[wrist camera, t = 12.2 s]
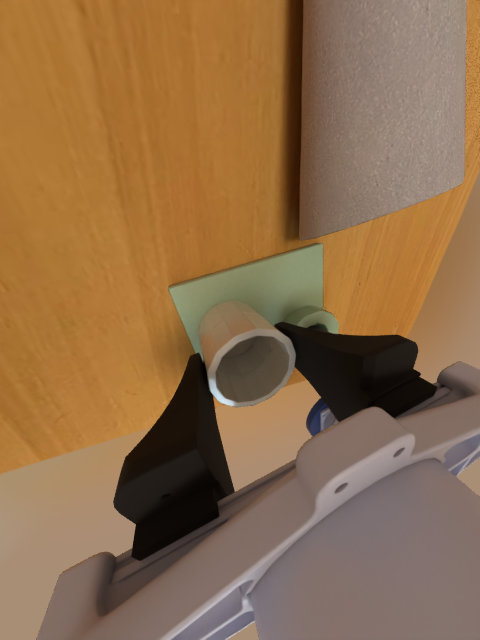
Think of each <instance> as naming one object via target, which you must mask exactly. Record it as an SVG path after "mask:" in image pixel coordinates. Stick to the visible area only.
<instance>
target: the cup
mask: <svg viewBox="0 0 480 640" xmlns="http://www.w3.org/2000/svg"><path fill="white" fill-rule="evenodd" d="M198 336H199V343H200V349H201V354H202V359H203V363H204V368H205V373H206V378H207V383H208V388H209V391H210V392H211V393H212V394H213V395H214V397H215V398H216V399H217V400H218V401H219V402H220V403H223V404H226V405H229V406H232V407H245V406H253V405H256V404H258V403H260V402H262V401H265V400H267V399H269V398H270V397H272V396H273V395H275V394H276V393H277V392H278V391H279V390H280V389H281V388H282V387H284V385H285V384H286V383H287V381H288V379H289V378H290V376H291V374H292V372H293V371H294V366H295V359H296V352H295V349H294V347H293V344H292V342H291V339H290V338H289V337H287V336H286V335H285V334H284V333H283V332H282V331H280V330H279V329H278V328H277V327H276V326H274V325H273V324H272V323H271V322H270V321H269V320H267V319H266V318H265V317H264V316H263V315H261V314H260V313H259V312H258V311H257V310H255V309H254V308H252V307H251V306H250V305H248V304H247V303H244V302H241V301H236V300H231V301H225V302H222V303H219V304H217V305H215V306H214V307H212V308H211V309H210V310H209V311H208V312H207V313H206V314H205V315H204V317H203V318H202V320H201V322H200V325H199V330H198Z"/></svg>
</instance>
